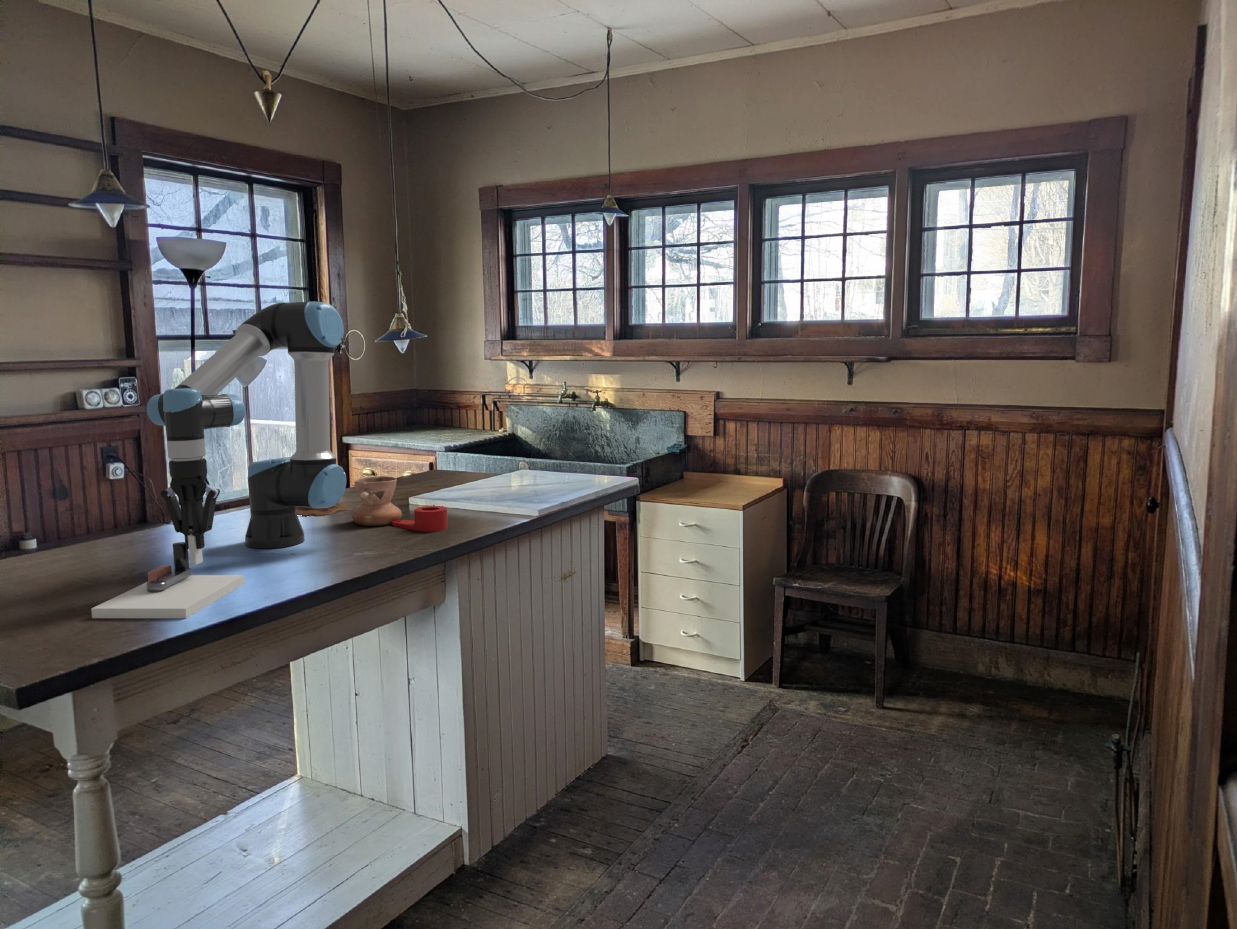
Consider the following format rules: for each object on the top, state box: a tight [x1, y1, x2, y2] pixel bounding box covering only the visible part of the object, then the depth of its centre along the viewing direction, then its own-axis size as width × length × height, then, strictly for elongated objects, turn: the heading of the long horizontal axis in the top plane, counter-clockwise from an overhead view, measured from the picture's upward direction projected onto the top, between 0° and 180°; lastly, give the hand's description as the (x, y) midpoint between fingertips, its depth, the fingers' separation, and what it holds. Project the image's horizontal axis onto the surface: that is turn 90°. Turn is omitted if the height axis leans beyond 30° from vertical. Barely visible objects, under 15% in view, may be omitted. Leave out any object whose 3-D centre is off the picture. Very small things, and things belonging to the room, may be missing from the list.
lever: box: [391, 505, 449, 533], centre depth 260 cm, size 18×9×7 cm, turn 69°
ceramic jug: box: [351, 475, 403, 527], centre depth 267 cm, size 18×14×14 cm
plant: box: [296, 502, 353, 518], centre depth 285 cm, size 20×20×11 cm
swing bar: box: [147, 541, 192, 592], centre depth 193 cm, size 14×4×8 cm, turn 179°
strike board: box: [90, 565, 246, 619], centre depth 188 cm, size 26×19×5 cm
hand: (196, 562), depth 198 cm, fingers closed
